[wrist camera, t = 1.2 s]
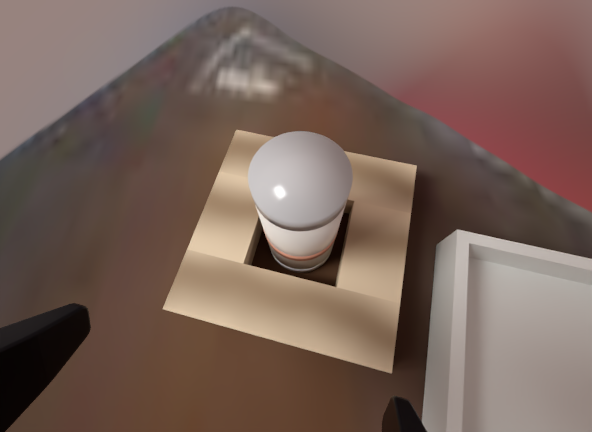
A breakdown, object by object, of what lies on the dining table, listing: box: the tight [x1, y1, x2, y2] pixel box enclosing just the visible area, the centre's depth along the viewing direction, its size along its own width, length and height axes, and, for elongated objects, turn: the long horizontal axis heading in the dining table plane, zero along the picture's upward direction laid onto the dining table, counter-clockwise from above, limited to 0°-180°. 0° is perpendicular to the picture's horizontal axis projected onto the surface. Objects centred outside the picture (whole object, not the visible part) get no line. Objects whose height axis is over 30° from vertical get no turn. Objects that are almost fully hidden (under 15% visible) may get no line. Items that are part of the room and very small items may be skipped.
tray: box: [422, 229, 592, 432], centre depth 19 cm, size 14×14×4 cm
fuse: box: [248, 131, 353, 273], centre depth 19 cm, size 5×5×10 cm
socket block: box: [163, 130, 417, 373], centre depth 23 cm, size 15×15×2 cm
